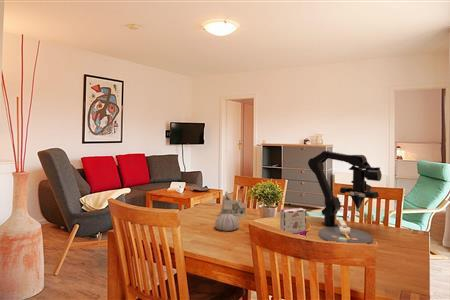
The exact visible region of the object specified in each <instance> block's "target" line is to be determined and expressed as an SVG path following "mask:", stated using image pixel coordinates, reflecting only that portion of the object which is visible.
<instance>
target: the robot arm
mask: <svg viewBox="0 0 450 300" xmlns="http://www.w3.org/2000/svg"><path fill="white" fill-rule="evenodd" d="M328 159H329V160H335V161H340V162H345V163H347V164H349V165H351V167H349V168H348V170H349V171H352V180H351V181H350V183H352V187H349V186H342V187H340V189H339V193H340V194H346V193H350V194H349V197H350V198H351V200H352V201H353V204H354V205H355V207H356V209H359V210H360V208H361V206H362V203H363V201H364V199H365V198H368V199H376V198H379V197H380V196H379V195H380V193H378V191H374V190H372V185H369V184H367V181H375V182H380V181H381V180H382V171H381V167H378V166H377V167H374V166H373V167H372V166H371V165H370V163H369V162H368V159H367V157H366V156H365V155H363V154H345V153H340V152H334V151H330V150H323V151H322V152H320V153H319V154H318V155H316V156H314V157H312V158H310V159H308V160H307V161H308V162H307V165H308V167H309V169H310V171H312V173H314V175H315V176H316V179H317V180H316V181H317V182H318V184H319V187H320V190H321V192H322V194H323V197H324V208H323V209H322V210H321V211H320V212H321V214H322V216H324V217H323V219H324V220H323V221H322V222H321V224H322V225H324V226H325V227H338V224H337V223H336V214H338V212H339V211H340V210H341V208H342V206H341V204H342V202H341V201H340V198H339V196H337V197H336V196H334V193H333V192H332V189H331V186H330V183H329V181H328V179H327V176H326V173H325V171H324V163H325V162H326V161H327V160H328ZM365 179H366V180H365Z"/></svg>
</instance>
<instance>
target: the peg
mask: <svg viewBox="0 0 450 300" xmlns="http://www.w3.org/2000/svg"><path fill="white" fill-rule="evenodd" d="M337 227H339V229H340V230H339V233H340V234H342V235H345V236H346V238H347V239H348V240H350V238H349V236H348V235H350V228H351V227H349V226H348V225H347V223H346V222H345V219H341V218H340V219H337Z"/></svg>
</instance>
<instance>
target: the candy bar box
mask: <svg viewBox="0 0 450 300" xmlns="http://www.w3.org/2000/svg"><path fill="white" fill-rule="evenodd" d="M279 213H280V214H279V215H280V217H279V218H280V223H279V231H280V230H283V231H286V232H290V233H293V234H300V235H303V236H306V237H307V209H305V208H302V207H298V208H297V207H296V208H295V207H294V208H284V209H280V210H279Z"/></svg>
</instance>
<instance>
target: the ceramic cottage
mask: <svg viewBox="0 0 450 300" xmlns="http://www.w3.org/2000/svg"><path fill="white" fill-rule="evenodd" d="M224 193H225V195H224V196H222V203H221V204H222V205H221V211H220V212H219V216H220V215H222V214H226V213H229V214H233V215H234V216H236V218H237V219H238V218H243V217H244V218H245V216H246V203H245V202H241V199H232V198H231V197H230V195H229V193H228V191H226V190H225V192H224Z"/></svg>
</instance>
